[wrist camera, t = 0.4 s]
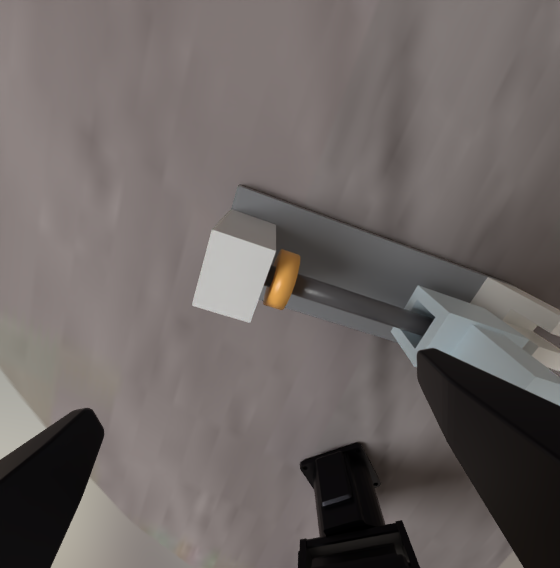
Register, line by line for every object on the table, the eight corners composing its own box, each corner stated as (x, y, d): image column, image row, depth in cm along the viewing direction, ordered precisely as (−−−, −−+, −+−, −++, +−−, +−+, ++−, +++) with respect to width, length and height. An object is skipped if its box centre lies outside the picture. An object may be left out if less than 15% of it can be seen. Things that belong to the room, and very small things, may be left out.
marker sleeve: (484, 308, 19) (608, 395, 12) (454, 351, 20) (549, 452, 13) (417, 285, 18) (507, 362, 11) (390, 331, 19) (455, 427, 12)
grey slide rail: (509, 283, 22) (607, 334, 15) (456, 355, 24) (522, 425, 18) (239, 184, 19) (220, 196, 12) (212, 279, 21) (185, 330, 15)
